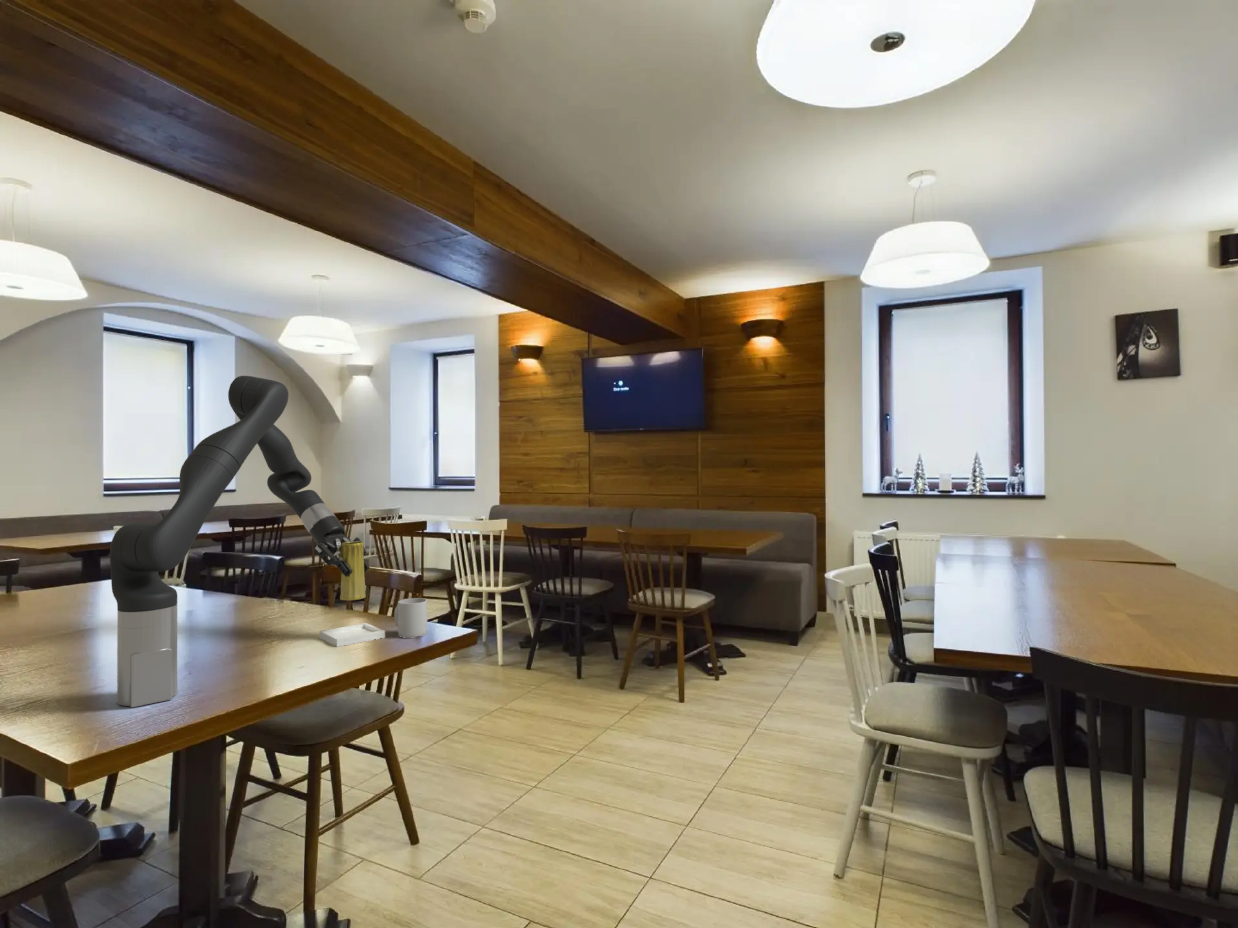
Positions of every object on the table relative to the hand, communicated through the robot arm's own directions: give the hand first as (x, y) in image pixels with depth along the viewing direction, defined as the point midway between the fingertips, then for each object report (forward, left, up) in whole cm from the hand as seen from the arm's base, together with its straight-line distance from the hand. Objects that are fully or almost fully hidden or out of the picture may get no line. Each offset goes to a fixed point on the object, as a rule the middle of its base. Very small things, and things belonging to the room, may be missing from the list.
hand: (358, 572), depth 166 cm
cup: (-6, -11, -17) cm, 21 cm away
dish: (+1, +1, -17) cm, 17 cm away
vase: (+2, +1, -7) cm, 7 cm away
